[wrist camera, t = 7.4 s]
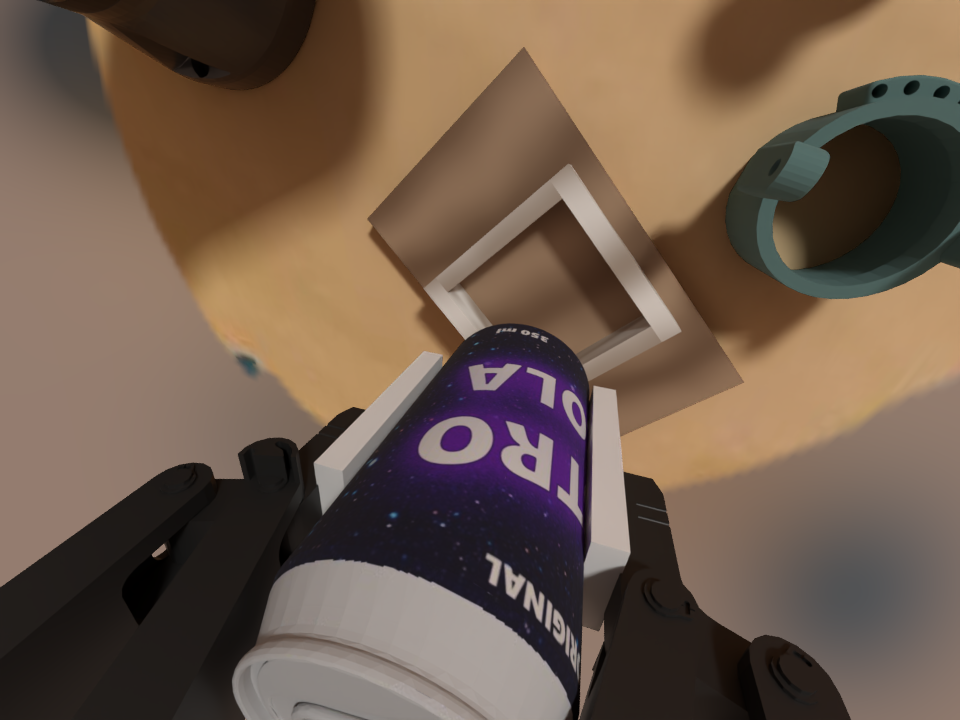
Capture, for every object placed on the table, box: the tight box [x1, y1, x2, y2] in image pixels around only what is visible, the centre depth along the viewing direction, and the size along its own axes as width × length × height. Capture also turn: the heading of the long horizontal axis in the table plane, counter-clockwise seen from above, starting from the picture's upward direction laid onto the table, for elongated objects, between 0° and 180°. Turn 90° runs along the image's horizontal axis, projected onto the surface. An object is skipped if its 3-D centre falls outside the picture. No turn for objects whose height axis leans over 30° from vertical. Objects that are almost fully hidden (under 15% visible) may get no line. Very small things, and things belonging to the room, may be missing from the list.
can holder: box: [368, 47, 744, 436], centre depth 26 cm, size 24×14×4 cm, turn 40°
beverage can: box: [232, 323, 590, 720], centre depth 11 cm, size 6×6×12 cm
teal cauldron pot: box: [725, 75, 960, 299], centre depth 17 cm, size 9×9×9 cm
